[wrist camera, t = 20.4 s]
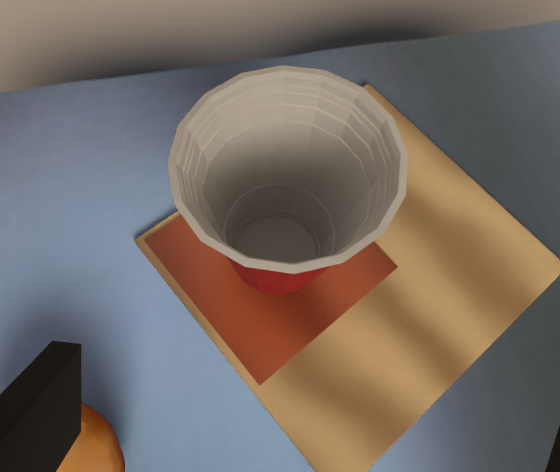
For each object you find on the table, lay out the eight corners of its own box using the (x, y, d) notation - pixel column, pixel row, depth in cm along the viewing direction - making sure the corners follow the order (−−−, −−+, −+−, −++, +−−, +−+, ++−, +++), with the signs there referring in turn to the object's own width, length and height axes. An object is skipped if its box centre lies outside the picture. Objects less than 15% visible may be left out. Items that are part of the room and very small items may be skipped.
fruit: (41, 342, 29) (44, 375, 21) (133, 430, 31) (164, 487, 24) (-89, 455, 26) (-136, 537, 19) (23, 543, 28) (20, 646, 21)
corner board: (367, 86, 40) (368, 81, 39) (564, 268, 35) (569, 265, 34) (134, 242, 33) (133, 238, 32) (336, 499, 28) (339, 500, 27)
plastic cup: (191, 182, 35) (170, 56, 24) (344, 182, 35) (392, 61, 24) (186, 337, 30) (157, 271, 19) (361, 333, 31) (427, 267, 20)
